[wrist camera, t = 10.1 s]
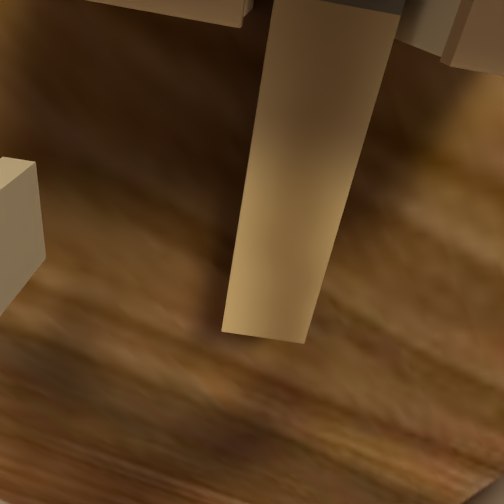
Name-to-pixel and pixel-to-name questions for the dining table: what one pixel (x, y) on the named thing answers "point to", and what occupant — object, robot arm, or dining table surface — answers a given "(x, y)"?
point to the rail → (304, 156)
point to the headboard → (409, 28)
